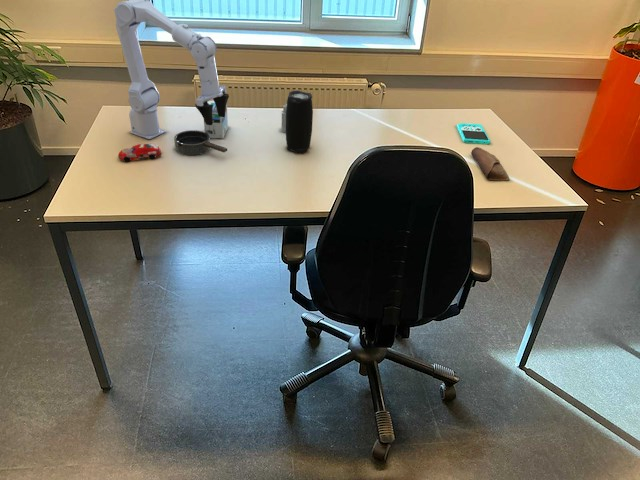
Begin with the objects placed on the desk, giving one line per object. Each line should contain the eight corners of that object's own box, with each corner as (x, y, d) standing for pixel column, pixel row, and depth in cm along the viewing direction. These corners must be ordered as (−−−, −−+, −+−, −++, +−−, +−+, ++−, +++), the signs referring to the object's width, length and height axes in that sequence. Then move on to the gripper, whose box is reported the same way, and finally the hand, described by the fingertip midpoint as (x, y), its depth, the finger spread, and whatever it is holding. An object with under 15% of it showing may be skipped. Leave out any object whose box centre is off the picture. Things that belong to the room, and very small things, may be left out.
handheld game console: (481, 127, 207) (482, 123, 206) (490, 144, 194) (491, 141, 193) (455, 125, 207) (456, 122, 206) (463, 142, 194) (464, 139, 193)
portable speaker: (315, 147, 184) (318, 93, 172) (302, 157, 177) (304, 101, 165) (293, 141, 186) (295, 87, 175) (280, 150, 180) (281, 95, 168)
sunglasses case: (511, 179, 171) (506, 163, 167) (491, 188, 172) (485, 173, 169) (493, 154, 186) (487, 139, 182) (474, 163, 187) (468, 148, 183)
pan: (168, 149, 175) (166, 138, 173) (191, 138, 184) (190, 127, 182) (194, 159, 171) (193, 148, 169) (217, 146, 179) (216, 136, 177)
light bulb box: (223, 139, 185) (221, 109, 178) (204, 137, 185) (202, 108, 178) (228, 126, 193) (227, 98, 187) (210, 125, 193) (208, 97, 187)
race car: (119, 163, 166) (117, 152, 164) (118, 156, 170) (116, 144, 168) (162, 159, 170) (160, 147, 168) (160, 151, 174) (158, 140, 172)
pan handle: (203, 145, 173) (203, 143, 172) (207, 143, 174) (207, 141, 174) (224, 152, 170) (223, 150, 169) (227, 150, 171) (227, 148, 170)
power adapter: (296, 132, 193) (297, 101, 186) (281, 132, 192) (281, 100, 185) (296, 129, 195) (297, 98, 188) (281, 128, 195) (282, 97, 188)
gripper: (206, 86, 158) (214, 129, 165) (231, 73, 169) (237, 114, 176) (187, 85, 160) (195, 127, 168) (213, 72, 171) (219, 112, 179)
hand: (215, 120), depth 172 cm, fingers open, 7 cm apart
